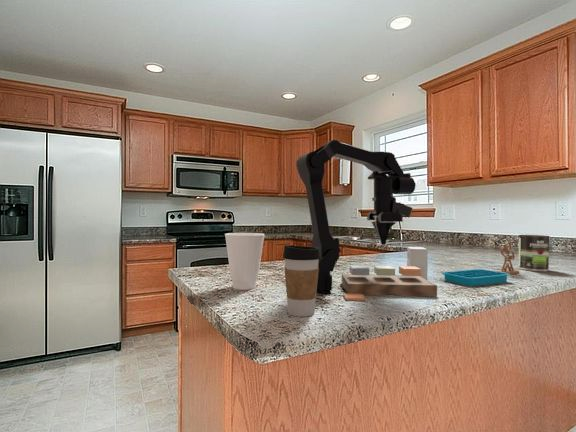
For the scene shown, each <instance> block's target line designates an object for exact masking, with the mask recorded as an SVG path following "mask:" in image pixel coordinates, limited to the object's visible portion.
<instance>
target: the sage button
mask: <svg viewBox="0 0 576 432" xmlns="http://www.w3.org/2000/svg"><path fill="white" fill-rule="evenodd" d="M373 266H374V268H373V269H374V270H373V272H374V274H375V275H386V276H395V275H396V268H395V267H393V266H391V265H373Z"/></svg>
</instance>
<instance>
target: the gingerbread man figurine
mask: <svg viewBox="0 0 576 432" xmlns="http://www.w3.org/2000/svg"><path fill="white" fill-rule="evenodd" d="M504 252H505V254H506V255H505V254H504ZM500 254H501V255H502V256H503V257H504V262H503V265H502V267H501V270H496V272H502V273H508V274H510V275H509V276H511V275H519V274H520V271H519V270H514V267H513V266H514V265H513V263H512V260H513V261H514V260H515V258H516V257H515V256H516V255H515V253H514V251H512V243H511V242H509V241H506V242H505V243H504V245H503V247H501V248H500ZM510 254H511V255H510Z"/></svg>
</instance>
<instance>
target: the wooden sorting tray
mask: <svg viewBox="0 0 576 432" xmlns="http://www.w3.org/2000/svg"><path fill="white" fill-rule="evenodd" d="M341 285H342V286H343V288H344V290H345V292H346V293H348V294H362V295H363V296H387V295H394V296H397V297H398V296H399V297H438V285H437V284H436V283H433V282H431V281H430V280H428V279H424V278H422V277H420V276H403V275H402V274H395V276H386V275H377V274H370V273H369V275H352V274H351V273H348V274H347V273H341ZM394 296H393V297H394Z"/></svg>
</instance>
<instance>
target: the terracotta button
mask: <svg viewBox="0 0 576 432" xmlns="http://www.w3.org/2000/svg"><path fill="white" fill-rule="evenodd" d="M398 274H399V275H403V276H421V269H420V268H418V267H415V266H403V265H401V266H399V265H398Z"/></svg>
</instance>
